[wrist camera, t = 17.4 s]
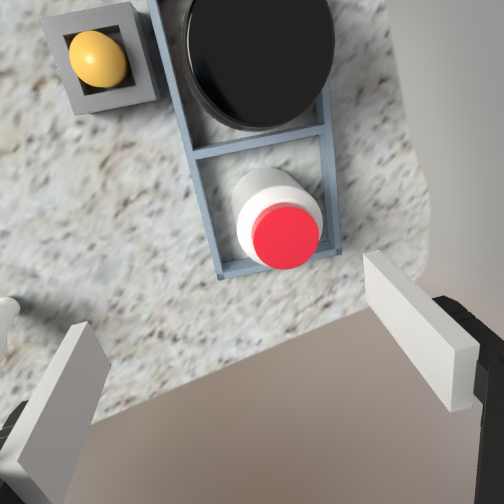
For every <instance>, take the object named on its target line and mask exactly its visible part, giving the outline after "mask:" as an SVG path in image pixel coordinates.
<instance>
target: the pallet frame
mask: <svg viewBox="0 0 504 504" xmlns="http://www.w3.org/2000/svg"><path fill="white" fill-rule="evenodd" d="M147 4H148V8H149V12H150V16H151V20H152V24H153V27H154V31H155V35H156V39H157V43H158V47H159V51H160V55H161V59H162V63H163V66H164V70H165V74H166V78H167V82H168V86H169V90H170V94H171V98H172V102H173V106H174V109H175V113H176V117H177V121H178V125H179V129H180V133H181V137H182V141H183V145H184V148H185V152H186V156H187V160H188V164H189V168H190V172H191V176H192V180H193V184H194V187H195V191H196V195H197V199H198V203H199V207H200V211H201V215H202V219H203V223H204V227H205V230H206V234H207V238H208V242H209V246H210V250H211V254H212V258H213V262H214V266H215V269H216V273H217V277H218V281H219V280H224V279H229V278H233V277H238V276H243V275H247V274H252V273H257V272H261V271H266V270H271V269H275V268H272V267H267V266H264V265H261V264H259V263H257V262H255V261H254V260H252V259H251V258H245V259H240V260H236V261H231V262H226V263H222V260H221V256H220V252H219V248H218V244H217V240H216V236H215V232H214V228H213V224H212V219H211V215H210V211H209V207H208V203H207V199H206V195H205V191H204V187H203V183H202V179H201V174H200V170H199V166H198V162H197V159H202V158H206V157H211V156H216V155H221V154H226V153H231V152H236V151H241V150H246V149H250V148H255V147H260V146H265V145H270V144H275V143H280V142H285V141H289V140H294V139H299V138H304V137H309V136H314V135H319V145H320V156H321V167H322V177H323V188H324V199H325V209H326V220H327V231H328V241H324V242H320V243H318V245H317V248H316V250H315V252H314V253H313V255H312V256H311V257H310V258H309V259H308V260H307V261H306V262H308V261H312V260H317V259H322V258H326V257H331V256H336V255H340V254H342V247H341V234H340V221H339V208H338V195H337V182H336V169H335V156H334V143H333V130H332V117H331V104H330V91H329V78H328V79H327V81H326V83H325V85H324V87H323V89H322V91H321V92H320V94H319V95H318V97H317V98H316V100H315V103H316V113H317V123H313V124H309V125H304V126H299V127H294V128H289V129H284V130H279V131H274V132H269V133H264V134H259V135H255V136H250V137H245V138H240V139H235V140H230V141H225V142H220V143H215V144H210V145H205V146H201V147H196V148H194V146H193V142H192V138H191V134H190V130H189V125H188V121H187V117H186V113H185V109H184V105H183V101H182V97H181V93H180V89H179V85H178V80H177V76H176V72H175V68H174V64H173V60H172V56H171V52H170V48H169V44H168V40H167V35H166V31H165V27H164V23H163V19H162V15H161V11H160V7H159V3H158V0H147Z"/></svg>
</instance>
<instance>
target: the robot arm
mask: <svg viewBox="0 0 504 504" xmlns="http://www.w3.org/2000/svg"><path fill="white" fill-rule="evenodd" d="M363 263H364V276H365V290H366V301H367V303H368V304H369V305H370V307H371V308H372V309H373V311H374V312H375V313H376V315H377V316H378V317H379V319H380V320H381V321H382V323H383V324H384V325H385V326H386V328H387V329H388V331H389V332H390V333H391V335H392V336H393V337H394V338H395V340H396V341H397V343H398V344H399V345H400V346H401V348H402V349H403V351H404V352H405V353H406V354H407V356H408V357H409V358H410V360H411V361H412V362H413V364H414V365H415V366H416V368H417V369H418V370H419V372H420V373H421V374H422V376H423V377H424V378H425V380H426V381H427V382H428V384H429V385H430V386H431V388H432V389H433V390H434V392H435V393H436V394H437V396H438V397H439V398H440V400H441V401H442V402H443V404H444V405H445V406H446V408H447V409H448V410H449V412H455V411H459V410H463V409H467V408H471V407H473V400H474V395H475V396H476V397H477V398H478V399H479V400H480V402H481V403H482V404H483V410H482V417H481V425H480V426H481V432H480V443H479V454H478V465H477V477H476V488H475V499H474V504H504V340H502V339H501V338H500V337H499V336H498V335H496V334H495V333H494V332H493V331H492V330H491V329H489V328H488V327H487V326H486V325H484V324H483V323H482V322H481V321H480V320H479V319H476V317H475V316H474V315H473V314H472V313H471V312H468V310H467V309H466V308H465V307H463V306H462V305H461V304H460V303H459V302H458V301H455V300H453V299H451V298H448V297H446V296H440V297H436V298H432V299H431V298H430V297H429V296H428V295H427V294H426V293H425V292H424V291H422V290H421V289H420V288H419V287H418V286H417V285H416V284H415V283H414V282H413V281H412V280H411V279H410V278H409V277H408V276H407V275H405V274H404V273H403V272H402V271H401V270H400V269H399V268H398V267H397V266H396V265H395V264H394V263H393V262H392V261H390V260H389V259H388V258H387V257H386V256H385V255H384V254H383V253H382V252H381V251H380V250H379V249H378V250H374V251H370V252H366V253H363ZM110 366H111V364H110V362H109V360H108V358H107V356H106V355H105V353H104V351H103V349H102V347H101V345H100V343H99V341H98V340H97V338H96V336H95V334H94V332H93V330H92V328H91V326H90V325H89V323H88V321H87V322H83V323H79V324H75V325H71V327H70V329H69V330H68V332H67V334H66V336H65V338H64V339H63V341H62V343H61V345H60V346H59V348H58V350H57V352H56V353H55V355H54V357H53V359H52V360H51V362H50V364H49V366H48V368H47V369H46V371H45V373H44V375H43V376H42V378H41V380H40V382H39V383H38V385H37V387H36V389H35V390H34V392H33V394H32V396H31V398H30V399H29V400H27V401H23V402H22V403H21V404H20V405H19V406H18V407H17V408H16V409H15V410H14V411H13V412H12V413H11V414H10V416H9V417H8V419H7V421H6V422H5V424H4V426H3V427H2V428H3V429H2V430H1V431H0V504H63V503H64V500H65V497H66V494H67V491H68V488H69V486H70V483H71V479H72V477H73V473H74V471H75V468H76V465H77V462H78V459H79V456H80V453H81V450H82V448H83V445H84V442H85V439H86V436H87V433H88V430H89V427H90V424H91V421H92V419H93V416H94V413H95V410H96V407H97V404H98V401H99V398H100V395H101V392H102V389H103V386H104V384H105V381H106V378H107V375H108V372H109V369H110Z"/></svg>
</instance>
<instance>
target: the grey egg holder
mask: <svg viewBox="0 0 504 504" xmlns="http://www.w3.org/2000/svg"><path fill="white" fill-rule="evenodd" d="M39 20H40V23H41V26H42V28H43V31H44V34H45V36H46V39H47V42H48V44H49V47H50V50H51V52H52V55H53V58H54V60H55V63H56V66H57V69H58V71H59V74H60V77H61V79H62V82H63V85H64V87H65V90H66V93H67V95H68V98H69V101H70V103H71V106H72V109H73V111H74V114H75V116H76V115H83V114H90V113H95V112H100V111H105V110H110V109H115V108H120V107H125V106H130V105H135V104H140V103H145V102H150V101H155V100H160V99H161V96H160V92H159V88H158V85H157V81H156V77H155V73H154V70H153V66H152V62H151V59H150V55H149V51H148V47H147V44H146V40H145V36H144V32H143V29H142V25H141V21H140V18H139V14H138V11H137V10H136V9H135V8H134V6H133V5H132V4H131V3H130V2H124V3H119V4H114V5H109V6H104V7H98V8H93V9H88V10H83V11H77V12H72V13H67V14H62V15H56V16H51V17H46V18H41V19H39ZM84 31H97V32H100V33H102V34H104V35H106V36H107V37H109V38H111V39H112V40H114V41H116V42H117V43H118V44H120V45H121V46H122V47H123V49H124V50H125V51H126V53H127V55H128V59H129V62H130V73H129V76H128V78H127V80H126V81H125V82H124V83H123V84H122V85H121V86H118V87H115V88H105V87H96V86H92V85H89V84H87V83H86V82H84V81H83V80H82V79H80V78H79V77H78V75H77V74H76V73H75V71H74V70H73V68H72V65H71V62H70V58H69V49H70V45H71V43H72V41H73V39H74V38H75V37H76V36H77V35H78V34H80V33H82V32H84Z"/></svg>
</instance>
